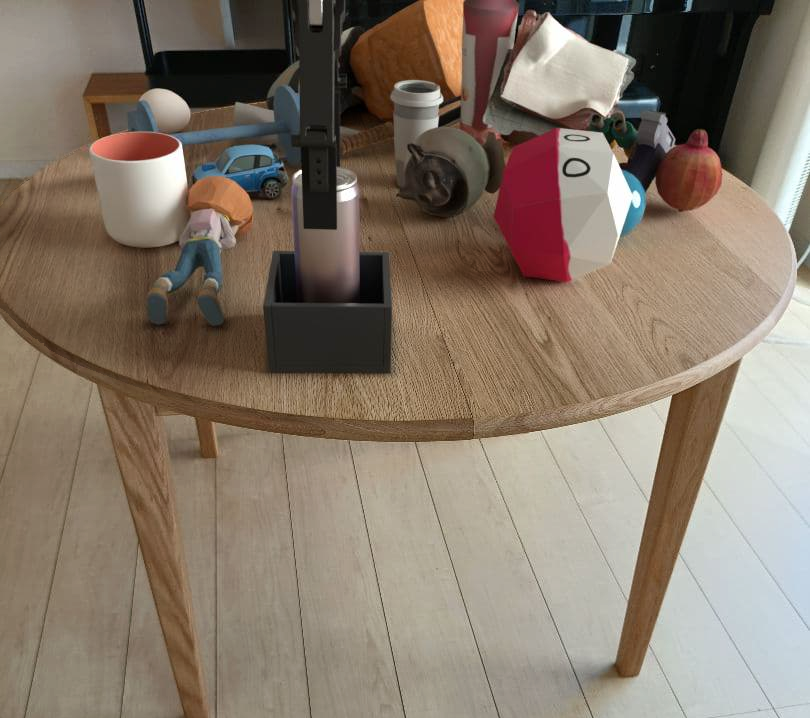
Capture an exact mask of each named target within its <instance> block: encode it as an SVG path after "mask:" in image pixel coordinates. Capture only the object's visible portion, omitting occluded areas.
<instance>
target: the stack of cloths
mask: <svg viewBox="0 0 810 718" xmlns="http://www.w3.org/2000/svg"><path fill="white" fill-rule="evenodd" d="M551 2H552V5H555V4H554V3H553V1H551ZM617 2H622V0H617ZM543 3H544V1H543ZM544 4H545V3H544ZM628 11H630V8H629V9H628ZM521 18H522V19H521V24H519V25H518V28H517V29H518V30H517V36H516V39H515V40H516V41H515V42H514V46H513V49H507V50H508V53H507V55H506V58H505V60H504V63H503V65H502V68H501V71H500V74H499V77H498V80H497V82H496V85H495V87H494V90H493V94H492V95H491V97H490V99H489V102H488V105H487V109H486V111H485V114H484V116H483V123H484V124H491V125H492V129H493V130H494V131H496V132H498V133H500V134H503V135H509V134H511V132H512V131H513V130H517V131H526V132H532V133H535V134H536V135H538V136H540V135H542V134H544V133H546V132H548V131H551V130H553V129H555V128H563V129H572V130H581V131H591V129H590V120H589V118H590V115H591V114H593V113H599V114H600V115H601V117H602V118H603V120H605V119H606V117H609V118H610V116H611V115H612V114H614V113H616V112H619V113H622V114H623V115H624V112H623V111H622V110H620V108H621V105H620V99H621V98H622V97H623V93H624V91H625V90H626V89H627V88H628V86H629V85H630V84H631V83H632V81H633V80H634V78H635V73H634V72H633V71H632V69H634V67H635V66H636V63H637V60H636V59H635V58H634V57H632V56H631V55H629V54H627V53H624V52H623V51H622V50H619V49H614V50H611V49H607V48H604V47H602V46H601V45H600V46H599V45H597V44H594V43H591V42H589V41H588V40H587V39H586V38H584V37H583V36H581V35H580V34H578V33H576V32H575V31H573V30H571V29H569V28H568V27H565V26H563V24H561V23H560V22H559V21H557V20H556V19H555V18H554V17H553V16H552V15H551V13H550V12H544V13H543V14H540V13H537V12H536V10H533V9H527V10H526V11H525V13H524V14H523V16H522V17H521ZM656 55H657V56H658V53H656ZM654 67H655V65H652V66H651V67H650V68H651V69H652V68H654ZM651 98H653V97H651Z"/></svg>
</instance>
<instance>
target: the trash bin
mask: <svg viewBox="0 0 810 718" xmlns="http://www.w3.org/2000/svg"><path fill="white" fill-rule="evenodd" d="M359 259H360V303H297V289H296V272H295V254H294V250H273V251H272V254H271V260H270V264H269V270H268V276H267V282H266V286H265V287H266V288H265V294H264V300H263V305H262V308H263V309H262V310H263V321H264V330H265V331H264V332H265V343H266V354H267V365H268V373H281V374H282V373H284V374H285V373H288V374H289V373H299V374H301V373H302V374H304V373H305V374H307V373H308V374H309V373H311V374H312V373H313V374H314V373H316V374H391V372H392V370H391V369H392V336H393V335H392V333H393V331H392V330H393V329H392V328H393V327H392V326H393V299H392V297H393V296H392V281H391V280H392V279H391V278H392V277H391V259H390V252H389V251H359Z"/></svg>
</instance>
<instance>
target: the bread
mask: <svg viewBox="0 0 810 718" xmlns="http://www.w3.org/2000/svg"><path fill="white" fill-rule="evenodd" d="M464 1H465V0H417V1H416V2H413V3H412V4H410V5H407V6H406V7H404V8H403V9H401V10H399V11H398V12H395V13H394V14H392V15H391V16H390V17H388V18H386V19H385V20H383V21H382V22H381V23H377V24H376V25H374V26H373V27H372V28H369V29H368V30H365V33H364V34H362V35H361V36H360V37H359V39H358V41H357V43H356V44H355V45H354V47H353V48H352V50H351V56H350V65H351V68H352V71H353V73H354V76H355V79H356V81H357V82H358V83H359V84H360V85H361V86H362V91H361V94H362V97H363V99H364V101H365V102H364V104H365V106H366V108H367V110H368V112H369V113H371V114H372V115H373V116H375V117H377V118H378V119H379V120H381V121H383V122H394V116H393V111H394V102H393V101H392V100H391V98H390V96H391V93H392V91H393V90H394V85H395V84H396V83H398V82H401V81H407V80H422V81H429V82H432V83H435V84H437V85H439V86H440V93H441V94H442V96H443V102H444V101H447V100H450V99H452V98H456V97H457V96H459V95H461V85H462V31H463V2H464ZM445 107H446V106H444V107H442V108H439V110H441V109H443V108H445Z"/></svg>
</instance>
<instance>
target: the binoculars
mask: <svg viewBox="0 0 810 718" xmlns="http://www.w3.org/2000/svg"><path fill="white" fill-rule="evenodd" d="M589 120H590V129H591V132H600V133H603V134H604V136H605V138H606V140H607V142H608V144H609V146H610V148H611V149H612V150H613V149H615V147H616V145H617V147H619V148H621V149H622V150H623V152H624V155H625V157H627V161H626V162H618V164H619V166H620V169H621V170H626V169H627V167H628V165H629V164H630V162H631V160H632V158H633V155H634V153H635V150H636V147H637V144H638V139H637V135H638V129H636V128H635V127H634V126H633V124H632V123H631V122H629V121H626V117H625V116H624V113H623V114H622V113H619V112H616V113H614V114H612V115H611V116H610V118H609V117H606V119H605V120H603V118H602V117H601V115H600V114H599V113H593V114H591V115H590V118H589Z"/></svg>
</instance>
